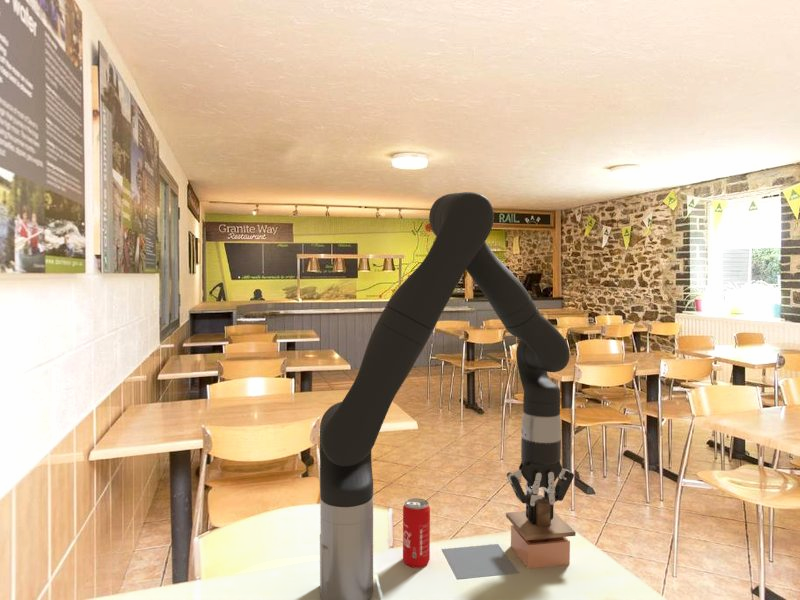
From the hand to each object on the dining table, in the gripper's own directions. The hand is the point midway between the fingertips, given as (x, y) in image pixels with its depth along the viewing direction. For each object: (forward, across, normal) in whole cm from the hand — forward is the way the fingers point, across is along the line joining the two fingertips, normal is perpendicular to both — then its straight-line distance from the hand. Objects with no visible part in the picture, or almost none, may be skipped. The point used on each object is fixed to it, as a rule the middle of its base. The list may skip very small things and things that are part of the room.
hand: (539, 521), depth 108 cm
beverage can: (+8, -24, +2) cm, 26 cm away
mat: (+7, -12, 0) cm, 15 cm away
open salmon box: (+7, 0, 0) cm, 7 cm away
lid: (+1, 0, 0) cm, 1 cm away
